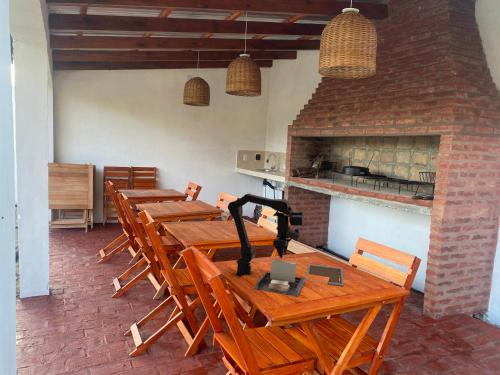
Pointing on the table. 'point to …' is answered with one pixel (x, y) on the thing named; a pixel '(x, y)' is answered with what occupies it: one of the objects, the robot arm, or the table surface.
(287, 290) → the offcut bottom
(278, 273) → the tall sheet
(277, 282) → the offcut top
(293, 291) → the tray
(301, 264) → the table surface
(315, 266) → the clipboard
